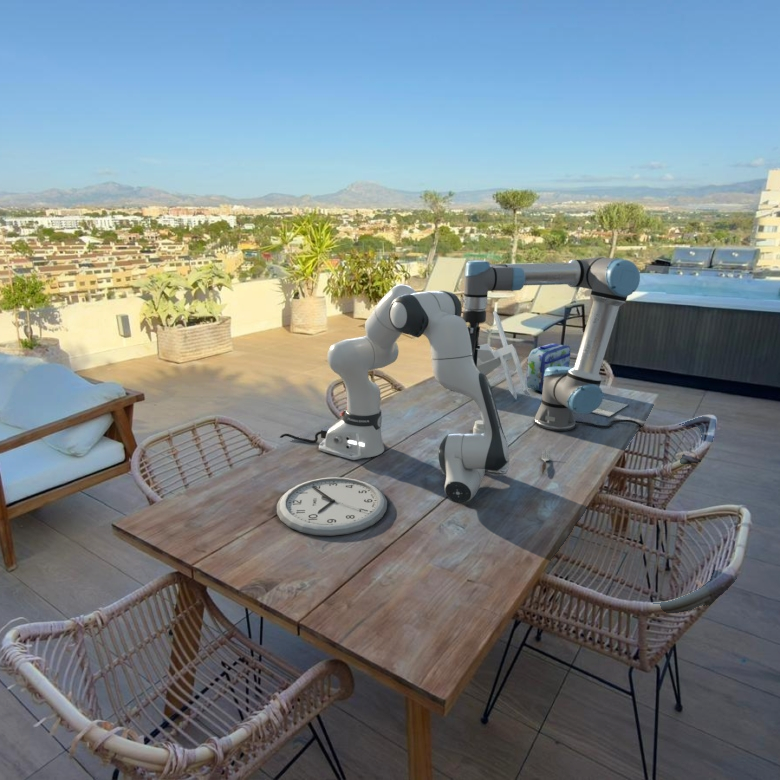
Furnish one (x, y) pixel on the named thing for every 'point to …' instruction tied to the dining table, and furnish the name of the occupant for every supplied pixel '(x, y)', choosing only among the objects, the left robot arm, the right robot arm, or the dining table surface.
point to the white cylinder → (478, 427)
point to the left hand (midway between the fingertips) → (479, 450)
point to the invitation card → (609, 407)
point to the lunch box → (545, 363)
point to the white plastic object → (500, 359)
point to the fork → (545, 460)
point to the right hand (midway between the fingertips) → (470, 372)
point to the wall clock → (331, 506)
